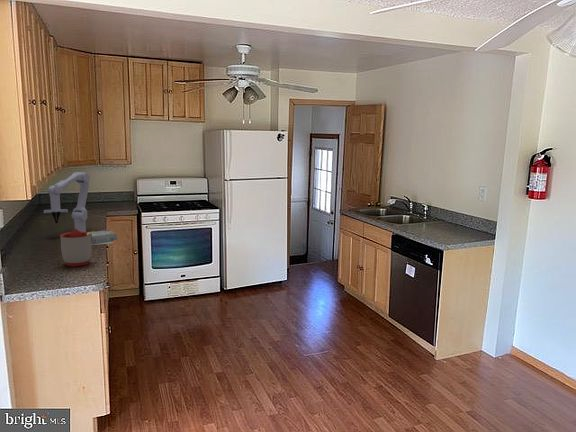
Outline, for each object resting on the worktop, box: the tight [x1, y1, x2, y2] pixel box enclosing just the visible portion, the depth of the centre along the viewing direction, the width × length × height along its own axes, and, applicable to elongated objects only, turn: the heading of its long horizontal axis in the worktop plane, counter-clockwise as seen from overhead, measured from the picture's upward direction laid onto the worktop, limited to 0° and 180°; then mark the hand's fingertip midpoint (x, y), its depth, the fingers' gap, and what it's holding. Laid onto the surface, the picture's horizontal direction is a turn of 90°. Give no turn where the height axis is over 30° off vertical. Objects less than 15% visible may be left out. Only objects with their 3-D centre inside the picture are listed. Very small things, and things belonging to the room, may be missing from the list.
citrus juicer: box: [59, 228, 94, 268], centre depth 246 cm, size 16×17×20 cm
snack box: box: [86, 229, 118, 244], centre depth 301 cm, size 21×6×15 cm
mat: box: [91, 241, 114, 246], centre depth 298 cm, size 16×26×1 cm, turn 118°
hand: (56, 223), depth 307 cm, fingers closed
